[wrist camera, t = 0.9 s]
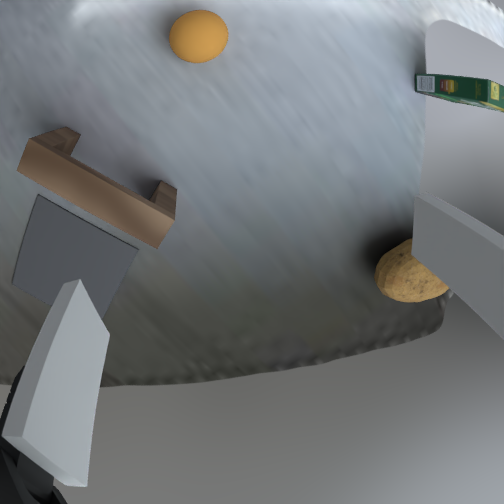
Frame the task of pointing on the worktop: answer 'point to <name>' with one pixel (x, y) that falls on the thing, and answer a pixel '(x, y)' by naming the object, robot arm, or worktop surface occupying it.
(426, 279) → the potato
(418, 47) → the worktop surface
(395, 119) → the worktop surface
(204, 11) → the ball
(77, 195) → the bridge
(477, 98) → the coffee box
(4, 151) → the worktop surface
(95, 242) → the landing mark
